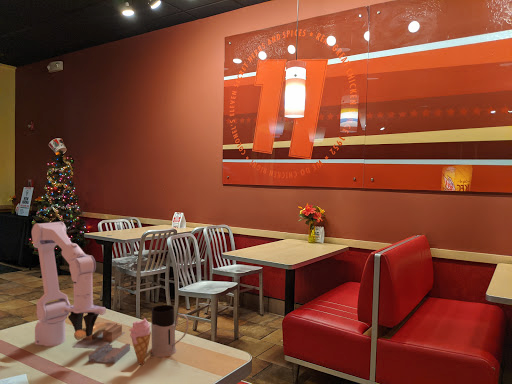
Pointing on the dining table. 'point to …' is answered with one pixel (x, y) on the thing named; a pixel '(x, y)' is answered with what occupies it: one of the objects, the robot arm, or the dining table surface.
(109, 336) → the bridge block
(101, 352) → the v block
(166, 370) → the dining table surface
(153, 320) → the glass holder
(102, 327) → the axle
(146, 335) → the ice cream cone
